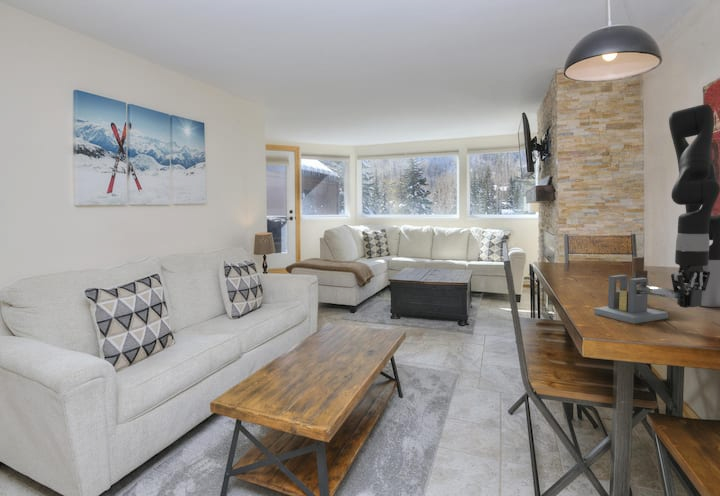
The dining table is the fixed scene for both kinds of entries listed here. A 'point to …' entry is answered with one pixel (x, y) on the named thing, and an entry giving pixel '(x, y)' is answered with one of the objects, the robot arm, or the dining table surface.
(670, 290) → the shaft
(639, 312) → the bracket
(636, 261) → the wooden block
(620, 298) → the spacer
